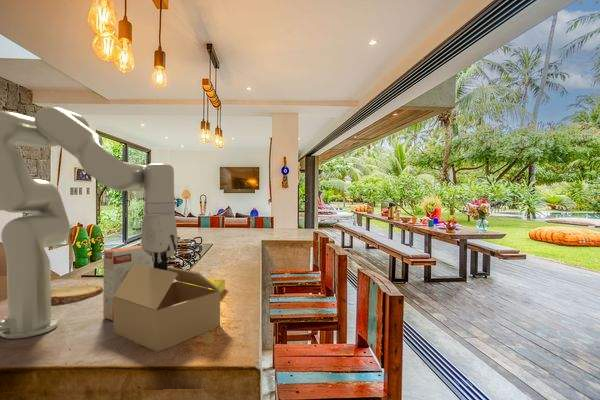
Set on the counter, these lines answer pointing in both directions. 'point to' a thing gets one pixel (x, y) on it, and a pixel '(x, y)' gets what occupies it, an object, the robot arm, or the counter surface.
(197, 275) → the flap far
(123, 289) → the flap arm side
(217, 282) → the element tile
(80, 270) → the counter surface
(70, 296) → the slice of bread
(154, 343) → the carton
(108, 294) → the cracker box
